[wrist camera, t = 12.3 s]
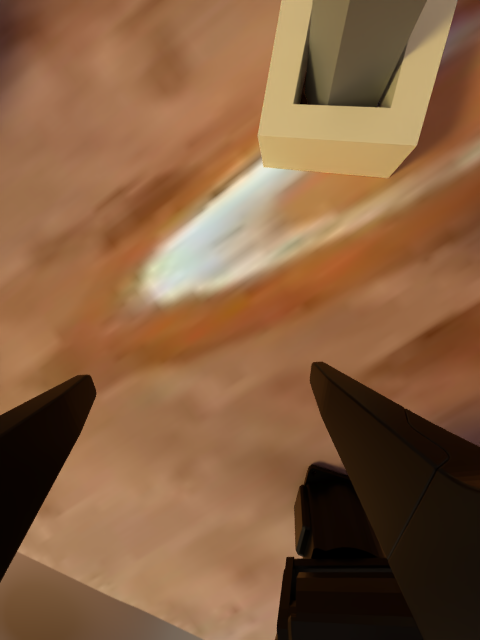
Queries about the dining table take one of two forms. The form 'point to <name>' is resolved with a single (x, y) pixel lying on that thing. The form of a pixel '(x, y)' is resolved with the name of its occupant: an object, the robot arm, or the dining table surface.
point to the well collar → (348, 121)
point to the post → (356, 48)
